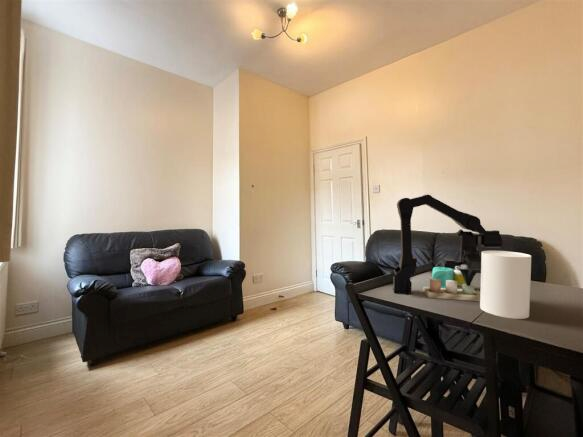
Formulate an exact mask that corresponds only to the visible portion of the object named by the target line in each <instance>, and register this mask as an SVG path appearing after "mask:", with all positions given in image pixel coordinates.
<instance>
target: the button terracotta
mask: <svg viewBox="0 0 583 437" xmlns="http://www.w3.org/2000/svg"><path fill="white" fill-rule="evenodd" d="M429 287H430V290H432V291H441V280H437V279H432V278H431V279H430V280H429Z"/></svg>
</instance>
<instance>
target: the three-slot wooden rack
mask: <svg viewBox="0 0 583 437" xmlns="http://www.w3.org/2000/svg"><path fill="white" fill-rule="evenodd" d="M422 291H423V292H424V293H425V295H426V296H427V297H428V298H431V299H443V300H446V299H447V300H460V301H474V302H480V293H478V292H477V291H475V290H474V295H466V294H462V289H457V292H455V293H453V292H448V291H446V288H441V291H432V290H430V286H423V290H422Z"/></svg>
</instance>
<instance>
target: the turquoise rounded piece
mask: <svg viewBox="0 0 583 437" xmlns="http://www.w3.org/2000/svg"><path fill="white" fill-rule="evenodd" d="M453 271H454V268H445V267H443V266H433V268H432V273H431V274H432V275H431V279H437V280H441V288H446V280H453Z"/></svg>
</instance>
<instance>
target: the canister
mask: <svg viewBox="0 0 583 437" xmlns="http://www.w3.org/2000/svg"><path fill="white" fill-rule="evenodd" d="M480 257H481V269H480V270H481V272H480V287H479V288H480V290H479V291H480V293H479V295H480V301H479V308H480V309H481V310H482V311H484V312H485V313H488V314H491V315H494V316H497V317H501V318H506V319H515V320H517V319H519V320H522V319H523V320H525V319H527V318H529V317H530V303H531V302H530V300H531V276H532V275H531V274H532V273H531V272H532V255H531V254H527V253H523V252H516V251H507V250H483V251H481V256H480Z"/></svg>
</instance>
